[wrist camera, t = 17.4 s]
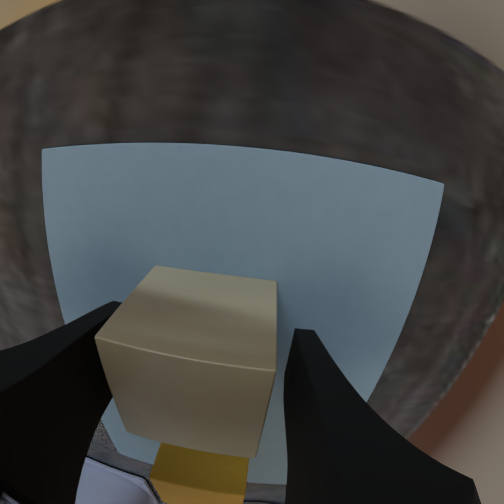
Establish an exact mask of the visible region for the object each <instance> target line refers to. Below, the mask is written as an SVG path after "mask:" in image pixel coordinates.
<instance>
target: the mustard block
mask: <svg viewBox="0 0 504 504" xmlns="http://www.w3.org/2000/svg"><path fill="white" fill-rule="evenodd" d="M248 465H249V458H247V457H238V456H230V455H223V454H216V453H210V452H204V451H199V450H194V449H189V448H184V447H180V446H175V445H171V444H167V443H163V442H161V444H160V446H159V449H158V452H157V455H156V458H155V461H154V464H153V467H152V470H151V473H150V476H149V478H150V480H151V482H152V484H153V486H154V487H155V489H156V491H157V493H158V494H159V496H160V498H161V500H162V501H163V502H164V503H168V504H243V501H244V498H245V493H246V483H247V474H248Z"/></svg>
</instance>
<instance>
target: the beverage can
mask: <svg viewBox="0 0 504 504" xmlns="http://www.w3.org/2000/svg"><path fill="white" fill-rule="evenodd" d="M243 504H270V503H261V502H243Z"/></svg>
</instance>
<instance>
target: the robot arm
mask: <svg viewBox="0 0 504 504" xmlns="http://www.w3.org/2000/svg"><path fill="white" fill-rule="evenodd" d="M121 304H122V302H118V301H112V302H109V303H107V304H105V305H102V306H100V307H98V308H96V309H94V310H93V311H91V312H89V313H87V314H85V315H83V316H81V317H79V318H77V319H75V320H73V321H71V322H69V323H68V324H66V325H64V326H61V327H59V328H57V329H55V330H53V331H51V332H49V333H47V334H45V335H43V336H40V337H38V338H36V339H33V340H31V341H28V342H26V343H23V344H20V345H17V346H15V347H12V348H8V349H5V350H1V351H0V504H160V503H159V501H158V500H157V498H156V497H155V495H154V493H153V492H152V490H151V488H150V487H149V485H148V483H147V482H146V480H145V479H143V478H141V477H138V476H135V475H132V474H129V473H126V472H123V471H120V470H118V469H115V468H112V467H110V466H107V465H104V464H102V463H99V462H97V461H95V460H92V459H90V458H88V457H86V455H87V452H88V449H89V446H90V443H91V441H92V438H93V435H94V433H95V430H96V428H97V426H98V423H99V421H100V419H101V417H102V416H103V414H104V412H105V410H106V408H107V407H108V405H109V403H110V401H111V399H112V398H113V396H112V393H111V390H110V387H109V385H108V382H107V379H106V375H105V372H104V369H103V366H102V363H101V359H100V356H99V352H98V349H97V345H96V341H95V335H96V334H97V333H98V331H99V330H100V329H101V328H102V327H103V325H104V324H105V323H106V322H107V321H108V319H109V318H110V317H111V316H112V315H113V313H114V312H115V311H116V310H117V309H118V307H119V306H120V305H121ZM283 405H284V418H285V431H286V445H287V484H286V498H285V504H481V502H480V499H479V496H478V492H477V489H476V486H475V484H474V481H473V479H471V478H469V477H467V476H465V475H463V474H461V473H459V472H457V471H455V470H453V469H451V468H449V467H447V466H445V465H443V464H441V463H439V462H438V461H436V460H435V459H433V458H431V457H430V456H428V455H427V454H425V453H424V452H422V451H421V450H419V449H418V448H417V447H415V446H414V445H412V444H411V443H410V442H409V441H407V440H406V439H405V438H404V437H402V436H401V435H400V434H399V433H397V432H396V431H395V430H394V429H393V428H392V427H390V426H389V425H388V424H387V423H386V422H385V421H384V420H383V419H382V418H381V417H380V416H379V415H378V414H377V413H376V412H375V411H374V410H373V409H372V408H371V407H370V406H369V405H368V404H367V403H366V402H365V400H364V399H363V398H362V397H361V396H360V395H359V393H358V392H357V391H356V390H355V388H354V387H353V386H352V385H351V383H350V382H349V381H348V380H347V378H346V377H345V375H344V374H343V373H342V371H341V370H340V368H339V367H338V366H337V364H336V363H335V361H334V360H333V358H332V357H331V355H330V354H329V352H328V351H327V349H326V348H325V346H324V345H323V343H322V341H321V340H320V338H319V337H318V335H317V333H316V332H315V331H314V330H310V329H298V328H295V330H294V334H293V339H292V343H291V347H290V352H289V356H288V360H287V364H286V369H285V373H284V391H283Z"/></svg>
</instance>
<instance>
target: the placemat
mask: <svg viewBox="0 0 504 504" xmlns="http://www.w3.org/2000/svg"><path fill="white" fill-rule="evenodd" d="M42 187H43V203H44V215H45V225H46V233H47V241H48V248H49V254H50V260H51V266H52V271H53V276H54V281H55V286H56V290H57V295H58V299H59V303H60V307H61V311H62V315H63V318H64V322H65V325H66V324H68V323H69V322H71V321H73V320H75V319H77V318H79V317H81V316H83V315H85V314H87V313H89V312H91V311H93V310H94V309H96V308H98V307H100V306H102V305H105V304H107V303H109V302H112V301H118V302H122V303H123V302H124V300H125V299H126V298H127V297H128V296H129V295H130V293H131V292H132V291H133V290H134V289H135V288H136V286H137V285H138V284H139V283H140V282H141V281H142V280H143V279H144V277H145V276H146V275H147V274H148V273H149V272H150V271H151V270H152V268H153V267H154V266H156V265H157V266H164V267H171V268H178V269H186V270H193V271H201V272H208V273H216V274H224V275H232V276H240V277H248V278H257V279H265V280H274V281H277V372H276V376H275V381H274V385H273V390H272V394H271V398H270V403H269V407H268V411H267V415H266V419H265V423H264V427H263V431H262V435H261V439H260V443H259V447H258V451H257V455H256V457H255V458H249V465H248V474H247V482H250V483H263V484H283V485H286V484H287V445H286V431H285V418H284V405H283V391H284V373H285V369H286V364H287V360H288V356H289V352H290V347H291V343H292V339H293V334H294V330H295V328H298V329H310V330H314V331H315V332H316V333H317V335H318V337H319V338H320V340H321V341H322V343H323V345H324V346H325V348H326V349H327V351H328V352H329V354H330V355H331V357H332V358H333V360H334V361H335V363H336V364H337V366H338V367H339V368H340V370H341V371H342V373H343V374H344V375H345V377H346V378H347V380H348V381H349V382H350V383H351V385H352V386H353V387H354V388H355V390H356V391H357V392H358V393H359V395H360V396H361V397H362V398H363V399H364V400H365V402H367V401H368V399H369V397H370V395H371V393H372V391H373V390H374V388H375V386H376V384H377V382H378V380H379V378H380V376H381V374H382V372H383V370H384V368H385V366H386V364H387V362H388V360H389V358H390V355H391V353H392V351H393V349H394V347H395V344H396V342H397V340H398V338H399V335H400V333H401V330H402V328H403V326H404V323H405V321H406V318H407V316H408V313H409V310H410V308H411V305H412V302H413V300H414V297H415V294H416V291H417V288H418V285H419V282H420V279H421V276H422V273H423V270H424V267H425V264H426V260H427V257H428V254H429V250H430V246H431V243H432V239H433V235H434V231H435V227H436V223H437V219H438V214H439V210H440V205H441V200H442V195H443V190H444V184H443V183H440V182H436V181H433V180H429V179H426V178H422V177H418V176H414V175H410V174H406V173H402V172H398V171H394V170H389V169H385V168H381V167H376V166H371V165H366V164H361V163H356V162H351V161H346V160H340V159H334V158H328V157H322V156H316V155H309V154H302V153H295V152H287V151H279V150H271V149H261V148H251V147H240V146H227V145H211V144H190V143H114V144H93V145H79V146H67V147H56V148H47V149H43V150H42ZM101 420H102V422H103V424H104V426H105V428H106V430H107V432H108V434H109V436H110V438H111V440H112V441H113V443H114V445H115V447H116V449H117V451H118V452H119V454H121V455H124V456H127V457H130V458H133V459H136V460H139V461H143V462H146V463H149V464H154V461H155V458H156V455H157V452H158V449H159V446H160V444H161V442H159V441H155V440H151V439H148V438H144V437H141V436H138V435H134V434H131V433H128V432H127V431H126V429H125V427H124V424H123V422H122V420H121V417H120V415H119V412H118V409H117V407H116V404H115V401H114V399H113V398H112V399H111V401H110V403H109V405H108V407H107V408H106V410H105V412H104V414H103V416H102V417H101Z"/></svg>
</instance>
